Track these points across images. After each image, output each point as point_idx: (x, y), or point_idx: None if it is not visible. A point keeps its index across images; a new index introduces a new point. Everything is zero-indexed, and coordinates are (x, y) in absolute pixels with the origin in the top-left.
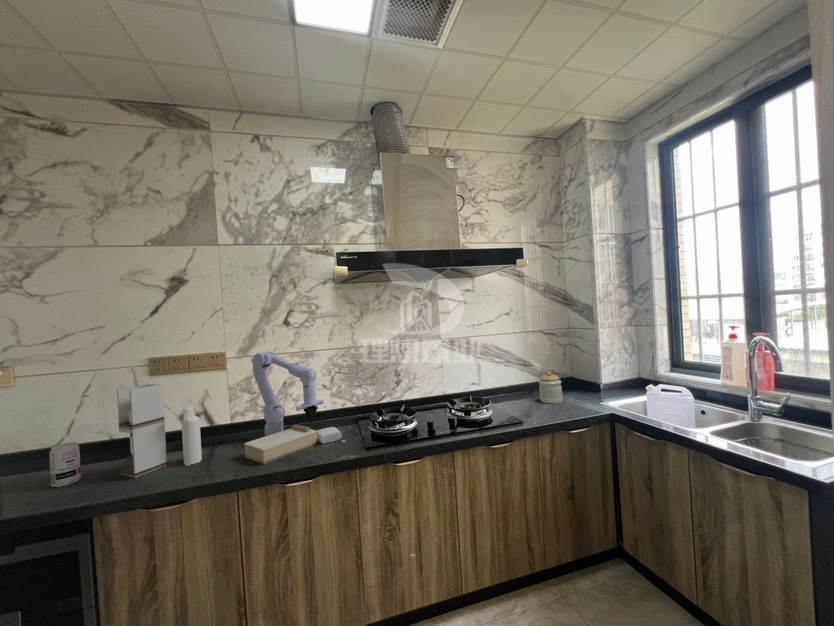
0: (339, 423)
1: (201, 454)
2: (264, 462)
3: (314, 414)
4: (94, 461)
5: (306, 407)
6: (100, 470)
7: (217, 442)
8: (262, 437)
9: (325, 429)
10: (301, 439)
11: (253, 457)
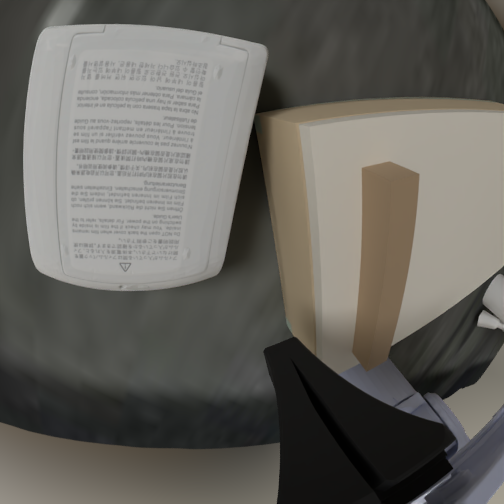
0: (22, 402)
1: (496, 297)
2: (495, 102)
3: (296, 422)
4: (474, 369)
5: (444, 476)
6: (497, 332)
7: None
8: (479, 285)
9: (134, 229)
10: (425, 106)
11: None
